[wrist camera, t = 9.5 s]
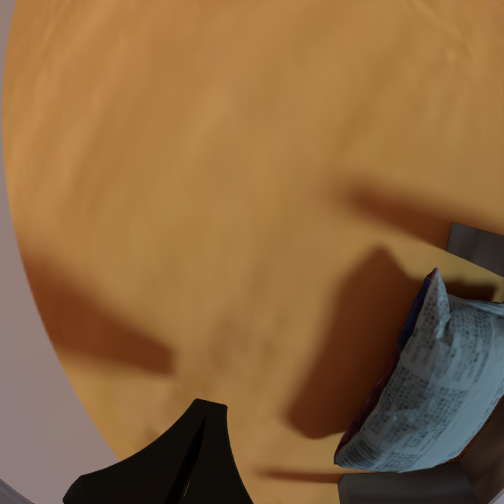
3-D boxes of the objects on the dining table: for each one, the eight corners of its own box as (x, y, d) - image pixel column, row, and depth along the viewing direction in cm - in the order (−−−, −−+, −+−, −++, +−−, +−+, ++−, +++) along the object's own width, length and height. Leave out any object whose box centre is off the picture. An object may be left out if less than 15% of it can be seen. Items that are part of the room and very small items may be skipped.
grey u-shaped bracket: (459, 468, 15) (481, 514, 9) (337, 484, 16) (345, 549, 10) (564, 264, 11) (620, 289, 5) (452, 222, 12) (540, 247, 6)
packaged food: (515, 292, 12) (566, 323, 7) (429, 443, 15) (450, 492, 10) (407, 252, 12) (463, 285, 8) (320, 438, 15) (326, 501, 10)
